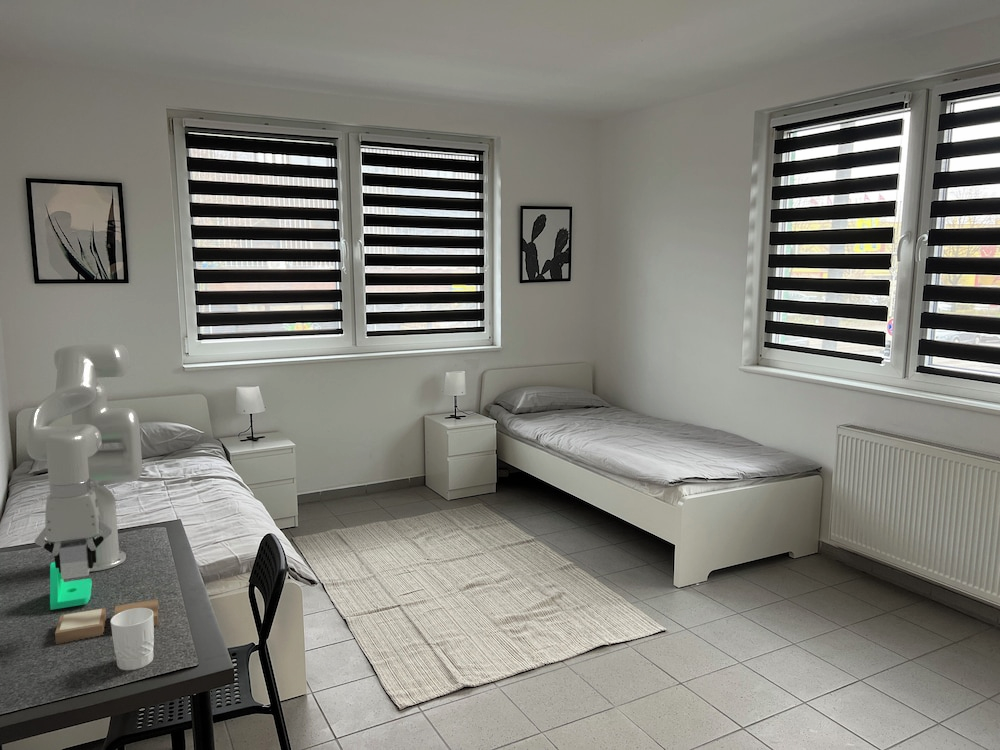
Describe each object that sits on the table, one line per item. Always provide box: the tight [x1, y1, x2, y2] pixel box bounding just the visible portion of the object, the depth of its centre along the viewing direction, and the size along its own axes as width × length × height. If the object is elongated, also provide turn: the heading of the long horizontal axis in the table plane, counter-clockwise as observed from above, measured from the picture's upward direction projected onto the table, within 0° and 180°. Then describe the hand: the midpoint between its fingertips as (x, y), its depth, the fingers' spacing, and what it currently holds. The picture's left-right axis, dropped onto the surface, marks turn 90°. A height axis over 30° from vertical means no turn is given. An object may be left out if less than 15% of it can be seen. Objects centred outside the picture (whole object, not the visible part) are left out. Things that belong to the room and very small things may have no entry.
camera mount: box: [49, 561, 93, 611], centre depth 176 cm, size 12×8×10 cm, turn 25°
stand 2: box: [113, 598, 160, 627], centre depth 167 cm, size 9×9×2 cm
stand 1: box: [54, 607, 107, 645], centre depth 162 cm, size 9×9×3 cm
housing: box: [59, 539, 91, 580], centre depth 159 cm, size 7×5×7 cm
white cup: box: [109, 608, 155, 671], centre depth 149 cm, size 8×8×10 cm
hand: (76, 567), depth 160 cm, fingers closed on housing, 5 cm apart
